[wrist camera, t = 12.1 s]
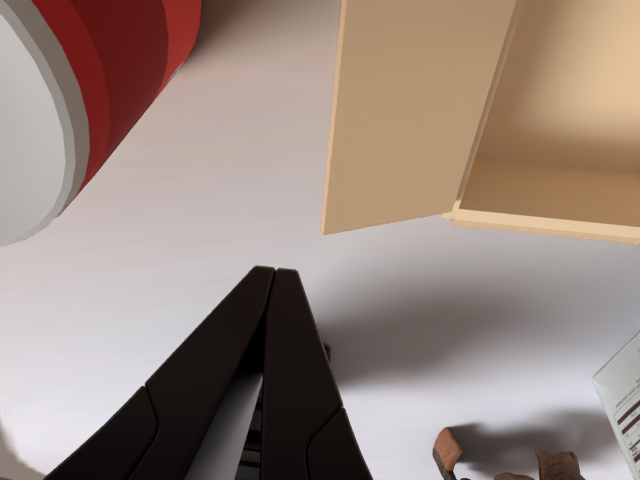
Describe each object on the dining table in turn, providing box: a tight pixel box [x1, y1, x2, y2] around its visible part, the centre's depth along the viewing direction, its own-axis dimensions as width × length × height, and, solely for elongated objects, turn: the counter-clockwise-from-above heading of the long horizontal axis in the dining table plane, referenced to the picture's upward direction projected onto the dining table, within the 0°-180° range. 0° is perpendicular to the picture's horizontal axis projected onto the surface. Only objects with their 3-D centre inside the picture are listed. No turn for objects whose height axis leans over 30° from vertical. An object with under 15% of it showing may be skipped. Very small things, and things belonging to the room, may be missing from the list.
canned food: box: [0, 0, 202, 247], centre depth 14 cm, size 8×8×11 cm
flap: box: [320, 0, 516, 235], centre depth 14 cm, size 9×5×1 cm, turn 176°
